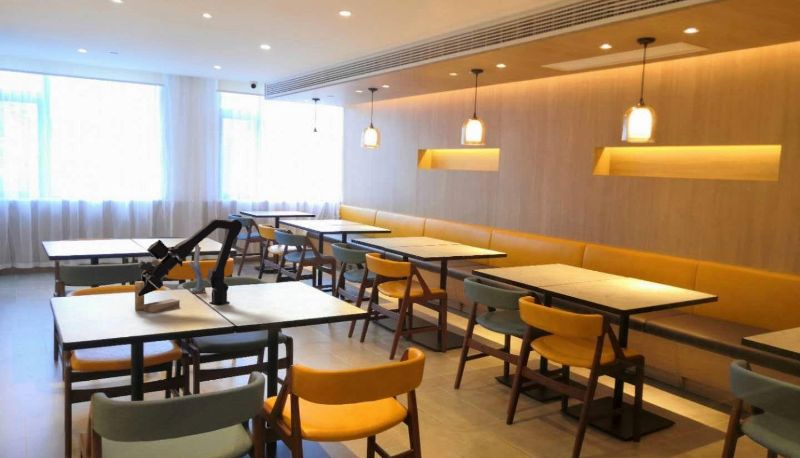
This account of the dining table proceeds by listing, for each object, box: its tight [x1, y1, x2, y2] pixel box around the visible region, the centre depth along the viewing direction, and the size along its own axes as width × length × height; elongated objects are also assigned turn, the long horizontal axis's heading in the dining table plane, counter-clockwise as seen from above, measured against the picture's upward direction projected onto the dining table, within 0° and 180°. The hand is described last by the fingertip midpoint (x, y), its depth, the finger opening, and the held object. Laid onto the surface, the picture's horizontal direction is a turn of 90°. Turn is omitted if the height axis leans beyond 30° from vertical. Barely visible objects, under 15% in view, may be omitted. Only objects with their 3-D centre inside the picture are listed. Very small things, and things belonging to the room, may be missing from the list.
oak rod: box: [134, 280, 145, 312], centre depth 244 cm, size 4×4×12 cm
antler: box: [189, 243, 207, 294], centre depth 286 cm, size 12×8×25 cm
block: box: [143, 298, 180, 314], centre depth 247 cm, size 5×14×3 cm, turn 151°
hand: (137, 293), depth 243 cm, fingers open, 9 cm apart
